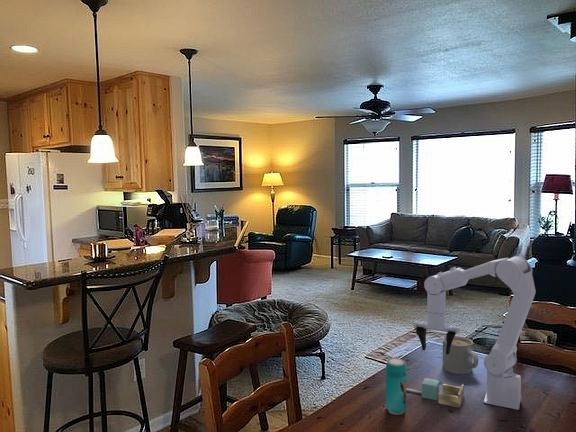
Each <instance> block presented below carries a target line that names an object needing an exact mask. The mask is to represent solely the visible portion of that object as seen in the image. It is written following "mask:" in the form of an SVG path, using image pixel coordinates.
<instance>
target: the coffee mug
mask: <svg viewBox="0 0 576 432" xmlns="http://www.w3.org/2000/svg"><path fill="white" fill-rule="evenodd" d="M473 346H474V342H473V340H472V339H470V338H467V337H465V336H460V335H455V337H454V339H453V341H452V344H451V347H450V353H449V354H446V348H447V340H446V336H444V337H443V338H442V366H441V367H442V369H443V370H444V371H446V372H448V373H450V374H455V375H467V374H470V373H472V372H473V369H475V368H477V367H478V365H479V356H478V354H477V353H476V352H475V351H473V349H474V347H473Z"/></svg>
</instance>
